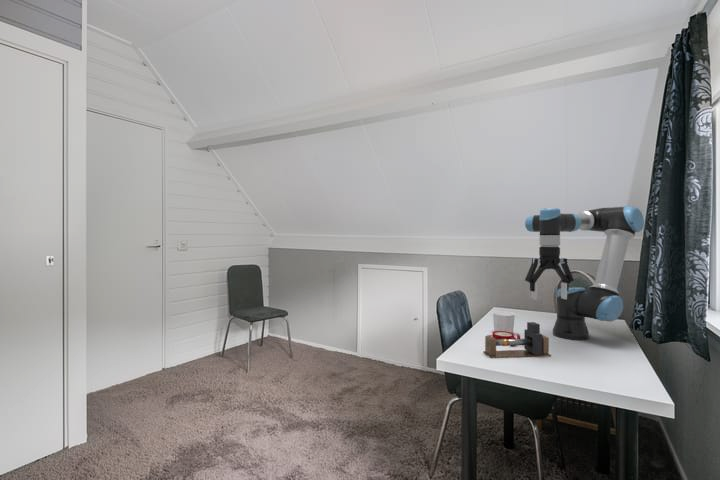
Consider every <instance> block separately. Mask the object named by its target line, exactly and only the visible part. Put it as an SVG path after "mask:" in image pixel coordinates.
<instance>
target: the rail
mask: <svg viewBox="0 0 720 480" xmlns="http://www.w3.org/2000/svg"><path fill="white" fill-rule="evenodd" d="M542 335H543V339H542V355H535V354H533V353H531V352H529V351H528V350H526V349H513V350H512V349H511V350H510V349H509V350H497V347H500V346H501V347H509V346H510V345H516V346H524V345H532V339H524V338H520V339H517V338H516V339H502V340H496V339H495V338H493V337H492V336H489V335H488V336H487V335H485V336H484V337H485V339H484V340H485V341H484V342H485V343H484V345H485V346H484V347H485V349H484V350H483V354H484V355H485V356H487V357H489V358H490V359H511V358H513V359H514V358H536V357H537V358H540V357H541V358H542V357H545V358H546V357H552V354H550V352H549V350H550V349H549V348H550V345H549V344H550V338H549V337H548V336H546V335H544V334H542Z"/></svg>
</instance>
